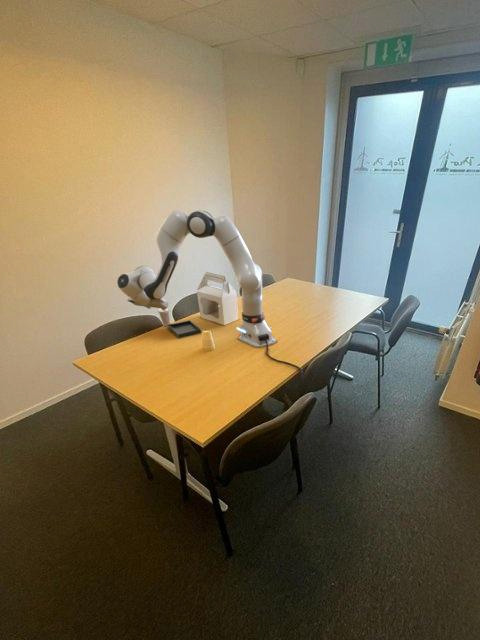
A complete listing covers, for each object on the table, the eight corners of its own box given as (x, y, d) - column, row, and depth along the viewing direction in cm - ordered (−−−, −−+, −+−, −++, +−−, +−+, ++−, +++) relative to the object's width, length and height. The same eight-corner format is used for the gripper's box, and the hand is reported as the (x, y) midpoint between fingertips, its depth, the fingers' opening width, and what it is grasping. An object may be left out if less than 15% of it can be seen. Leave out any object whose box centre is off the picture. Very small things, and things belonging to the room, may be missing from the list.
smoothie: (167, 322, 187) (163, 300, 179) (174, 324, 184) (170, 302, 176) (159, 325, 182) (154, 302, 174) (165, 327, 179) (160, 305, 171)
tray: (201, 332, 175) (200, 329, 174) (178, 338, 168) (177, 334, 167) (190, 323, 186) (189, 320, 184) (168, 328, 179) (167, 324, 178)
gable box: (200, 317, 195) (193, 273, 179) (214, 311, 204) (210, 269, 188) (224, 325, 184) (220, 279, 169) (239, 319, 194) (236, 275, 178)
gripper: (161, 293, 157) (174, 305, 170) (127, 289, 160) (143, 301, 174) (158, 304, 156) (172, 315, 169) (124, 300, 159) (140, 311, 173)
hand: (157, 308), depth 171 cm, fingers open, 8 cm apart
